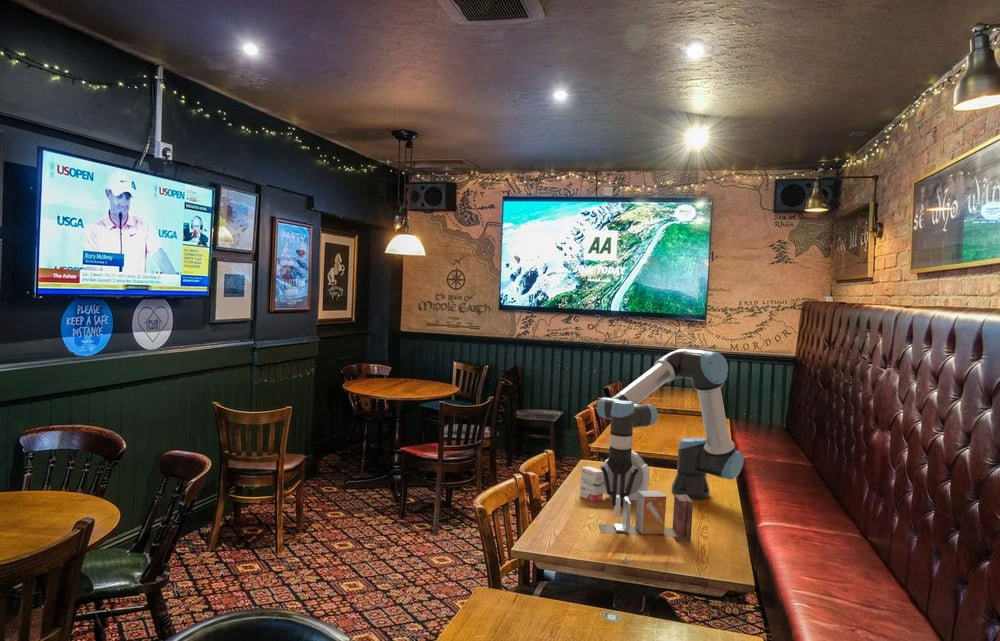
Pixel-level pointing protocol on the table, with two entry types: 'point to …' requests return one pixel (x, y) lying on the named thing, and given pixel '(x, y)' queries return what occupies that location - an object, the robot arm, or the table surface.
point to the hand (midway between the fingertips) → (616, 515)
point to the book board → (666, 530)
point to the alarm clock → (639, 481)
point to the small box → (650, 512)
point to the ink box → (591, 484)
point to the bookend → (624, 517)
